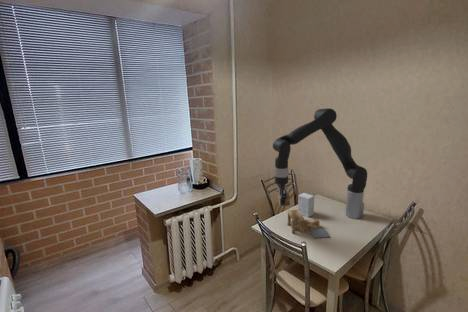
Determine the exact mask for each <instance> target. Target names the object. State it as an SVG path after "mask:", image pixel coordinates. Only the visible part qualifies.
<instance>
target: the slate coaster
mask: <svg viewBox="0 0 468 312" xmlns="http://www.w3.org/2000/svg"><path fill="white" fill-rule="evenodd" d="M308 231H309V232H310V234H311V235H312V237H313V239H327V238H331V235H330V234H329V233H328V231H327V230H326V229H325V227H319V228H313V229H308Z"/></svg>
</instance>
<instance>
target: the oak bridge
mask: <svg viewBox="0 0 468 312" xmlns="http://www.w3.org/2000/svg"><path fill="white" fill-rule="evenodd" d="M304 220H305V217H304V215H302V214H301V213H300V211H299V210H298V209H289V210H287V225H288V226H291V221H292V228H291V233H292V234H293V235H294V234H295V235H296V230H295V221H301V226H300V230H299V233H300V234H304V233H305V231H304V230H305V229H304Z"/></svg>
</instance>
